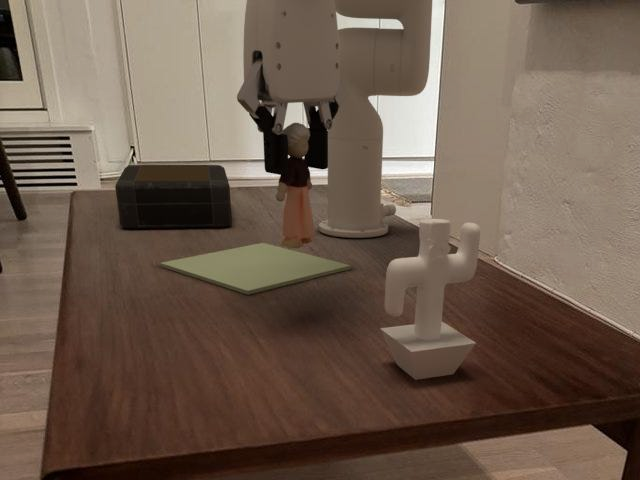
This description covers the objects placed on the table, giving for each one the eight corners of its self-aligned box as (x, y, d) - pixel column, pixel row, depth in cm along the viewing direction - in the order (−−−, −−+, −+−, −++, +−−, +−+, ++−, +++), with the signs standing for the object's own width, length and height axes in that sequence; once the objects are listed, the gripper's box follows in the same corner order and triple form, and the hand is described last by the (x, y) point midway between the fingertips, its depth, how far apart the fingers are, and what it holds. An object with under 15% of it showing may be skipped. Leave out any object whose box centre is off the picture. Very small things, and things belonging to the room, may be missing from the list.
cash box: (126, 204, 151) (121, 164, 147) (226, 203, 155) (224, 164, 151) (116, 230, 130) (109, 183, 126) (232, 228, 134) (229, 183, 130)
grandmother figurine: (305, 251, 82) (304, 126, 76) (272, 249, 83) (268, 125, 77) (321, 236, 89) (321, 120, 82) (291, 234, 90) (288, 118, 83)
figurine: (369, 363, 78) (373, 214, 70) (447, 352, 81) (460, 209, 73) (398, 388, 72) (407, 229, 64) (482, 376, 75) (499, 223, 68)
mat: (262, 246, 122) (262, 242, 122) (350, 269, 111) (350, 265, 111) (160, 266, 109) (160, 262, 109) (248, 295, 98) (247, 290, 98)
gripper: (326, -21, 80) (326, 159, 90) (198, -32, 69) (214, 174, 79) (378, -22, 76) (372, 167, 85) (250, -35, 65) (260, 184, 74)
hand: (296, 168), depth 82 cm, fingers closed on grandmother figurine, 5 cm apart
